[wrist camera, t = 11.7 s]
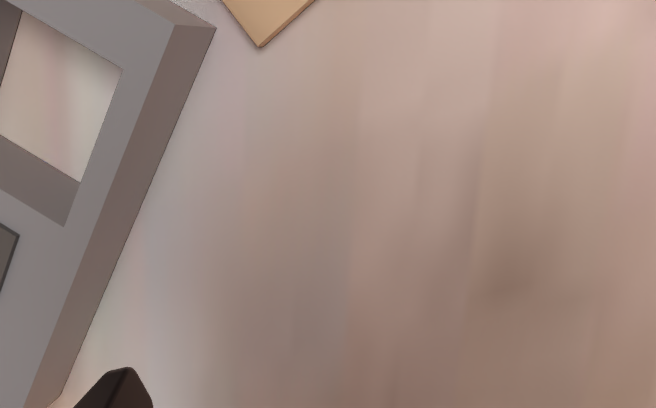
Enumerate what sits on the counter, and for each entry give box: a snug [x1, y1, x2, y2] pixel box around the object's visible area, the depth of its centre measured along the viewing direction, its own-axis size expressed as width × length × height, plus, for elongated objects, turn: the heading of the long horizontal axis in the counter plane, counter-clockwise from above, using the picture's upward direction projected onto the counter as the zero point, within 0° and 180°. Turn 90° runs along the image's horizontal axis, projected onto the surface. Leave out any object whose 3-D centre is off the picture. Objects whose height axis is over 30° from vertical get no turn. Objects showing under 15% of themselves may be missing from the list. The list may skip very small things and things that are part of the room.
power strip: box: [0, 0, 216, 408], centre depth 21 cm, size 18×8×3 cm, turn 152°
